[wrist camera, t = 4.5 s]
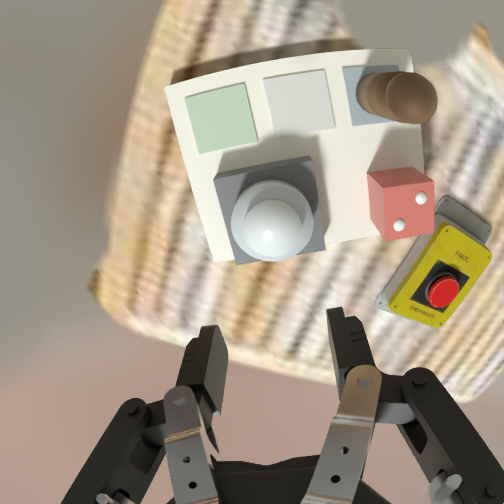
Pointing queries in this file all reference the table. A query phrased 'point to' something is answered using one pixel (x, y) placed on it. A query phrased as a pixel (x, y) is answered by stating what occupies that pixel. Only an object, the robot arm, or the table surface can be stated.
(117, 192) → the table surface
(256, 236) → the dome
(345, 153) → the board
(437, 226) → the emergency button
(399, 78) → the pawn
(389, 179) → the die
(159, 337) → the table surface
